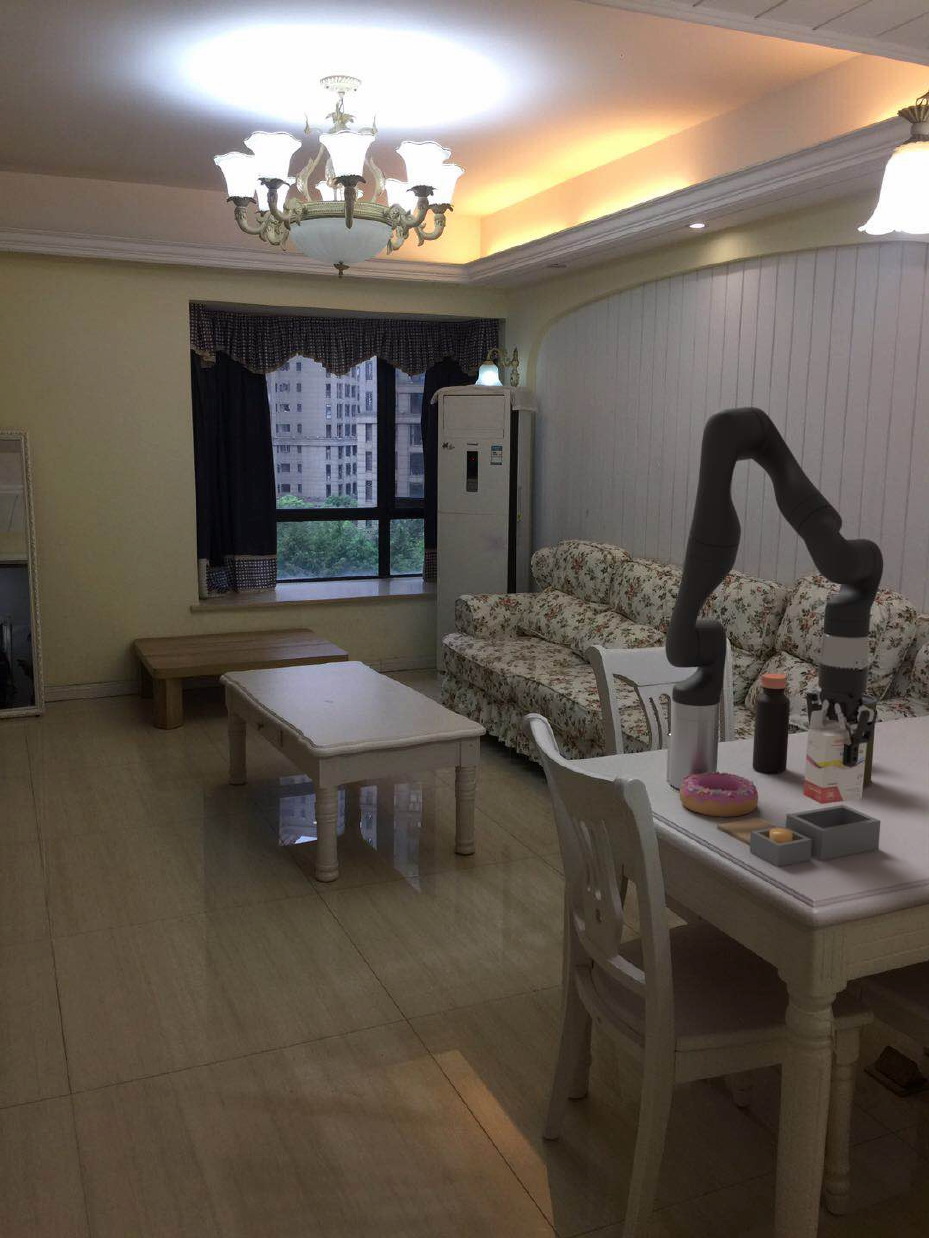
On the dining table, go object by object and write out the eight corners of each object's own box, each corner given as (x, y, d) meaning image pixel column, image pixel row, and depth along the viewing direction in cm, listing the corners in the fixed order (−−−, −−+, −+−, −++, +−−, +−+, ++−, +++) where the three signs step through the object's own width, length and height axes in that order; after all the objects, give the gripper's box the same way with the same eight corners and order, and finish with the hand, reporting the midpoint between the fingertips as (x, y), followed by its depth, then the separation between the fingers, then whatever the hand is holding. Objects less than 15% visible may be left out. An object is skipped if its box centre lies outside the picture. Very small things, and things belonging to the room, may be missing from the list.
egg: (763, 850, 171) (765, 830, 171) (781, 847, 173) (782, 826, 172) (778, 858, 168) (780, 837, 167) (796, 854, 169) (797, 834, 169)
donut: (770, 818, 189) (771, 791, 188) (695, 822, 186) (696, 795, 186) (738, 792, 203) (739, 767, 202) (668, 795, 200) (669, 771, 200)
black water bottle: (793, 770, 216) (798, 677, 213) (771, 776, 212) (776, 681, 209) (766, 762, 221) (771, 671, 218) (745, 767, 218) (750, 675, 214)
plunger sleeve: (749, 851, 172) (750, 831, 172) (781, 845, 175) (783, 825, 174) (777, 866, 166) (778, 845, 165) (810, 859, 169) (811, 839, 168)
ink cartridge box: (822, 805, 170) (828, 718, 167) (802, 795, 174) (808, 710, 172) (863, 799, 173) (870, 713, 170) (843, 789, 177) (849, 706, 175)
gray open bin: (784, 842, 176) (786, 814, 175) (841, 832, 181) (842, 804, 180) (820, 860, 168) (822, 831, 168) (878, 849, 174) (880, 820, 173)
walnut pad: (717, 827, 183) (717, 824, 183) (757, 820, 186) (757, 817, 186) (750, 845, 175) (750, 842, 175) (792, 837, 178) (792, 834, 178)
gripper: (795, 654, 175) (789, 751, 178) (859, 672, 162) (851, 776, 165) (829, 651, 178) (822, 746, 181) (895, 668, 165) (886, 770, 168)
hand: (836, 760), depth 173 cm, fingers closed on ink cartridge box, 5 cm apart
